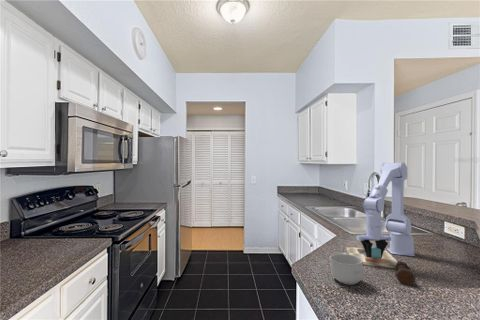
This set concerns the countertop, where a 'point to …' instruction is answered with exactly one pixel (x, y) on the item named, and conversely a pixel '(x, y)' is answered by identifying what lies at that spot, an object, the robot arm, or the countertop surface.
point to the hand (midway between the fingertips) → (374, 257)
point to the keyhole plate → (383, 262)
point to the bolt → (404, 273)
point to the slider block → (375, 252)
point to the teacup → (346, 268)
